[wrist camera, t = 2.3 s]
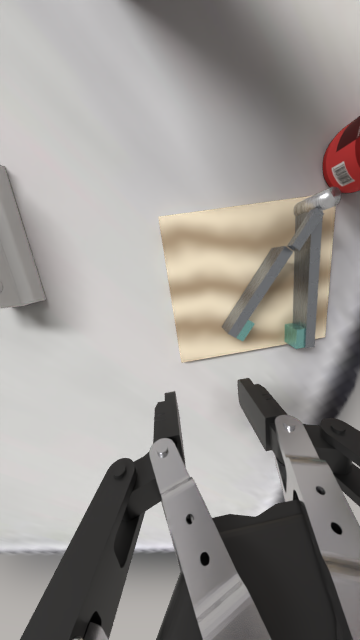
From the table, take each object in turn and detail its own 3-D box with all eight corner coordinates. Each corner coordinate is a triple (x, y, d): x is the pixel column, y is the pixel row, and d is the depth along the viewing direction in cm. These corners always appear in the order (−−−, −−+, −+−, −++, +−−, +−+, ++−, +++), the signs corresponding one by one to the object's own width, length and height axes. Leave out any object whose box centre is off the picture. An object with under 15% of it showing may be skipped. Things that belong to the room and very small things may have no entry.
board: (158, 218, 25) (158, 216, 24) (329, 195, 27) (336, 192, 26) (180, 359, 31) (181, 362, 30) (319, 334, 33) (325, 337, 32)
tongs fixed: (286, 203, 25) (315, 189, 21) (307, 200, 25) (341, 185, 21) (284, 341, 31) (306, 355, 26) (302, 338, 31) (327, 351, 26)
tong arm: (291, 216, 26) (316, 207, 22) (306, 227, 26) (332, 220, 22) (221, 326, 29) (230, 336, 25) (235, 334, 30) (247, 345, 26)
